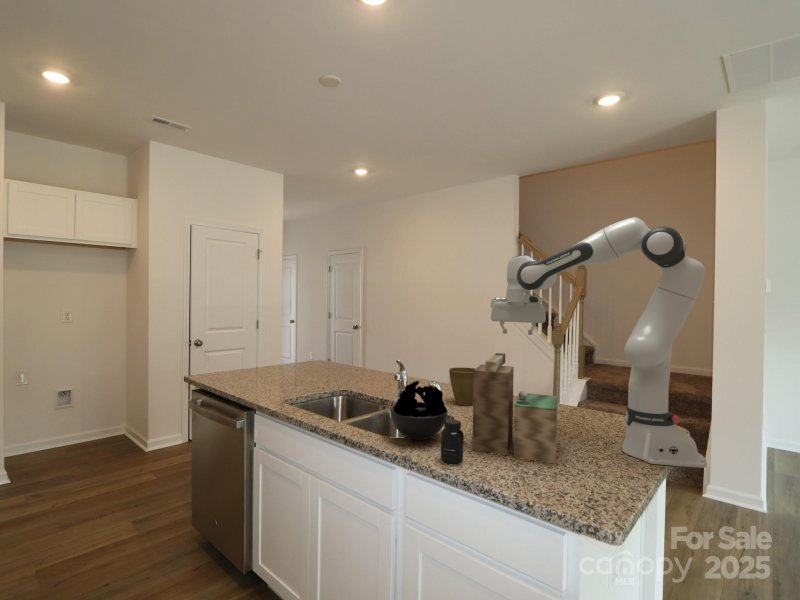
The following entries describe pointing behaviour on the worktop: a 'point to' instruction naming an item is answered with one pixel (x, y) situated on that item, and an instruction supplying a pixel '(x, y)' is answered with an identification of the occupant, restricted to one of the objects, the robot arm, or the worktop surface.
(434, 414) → the bowl of black rocks
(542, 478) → the worktop surface
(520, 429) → the green topped wooden block
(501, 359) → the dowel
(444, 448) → the supplement bottle
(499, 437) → the walnut stand
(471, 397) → the plant pot
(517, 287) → the robot arm
